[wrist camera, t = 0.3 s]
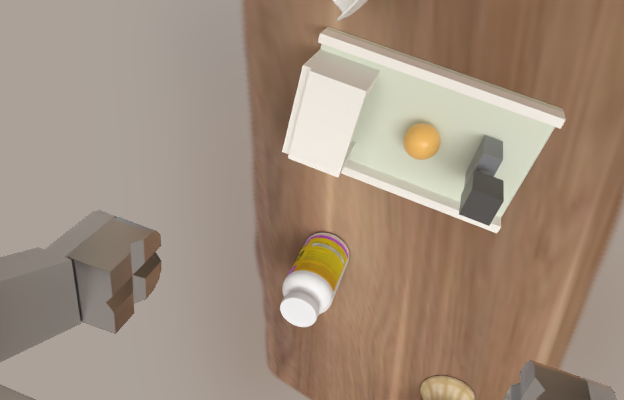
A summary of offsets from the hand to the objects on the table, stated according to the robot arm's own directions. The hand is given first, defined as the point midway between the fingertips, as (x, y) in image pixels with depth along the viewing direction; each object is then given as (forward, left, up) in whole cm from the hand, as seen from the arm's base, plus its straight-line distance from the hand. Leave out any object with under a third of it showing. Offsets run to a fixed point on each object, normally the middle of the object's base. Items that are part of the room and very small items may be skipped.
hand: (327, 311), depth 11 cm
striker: (+16, +9, -45) cm, 49 cm away
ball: (+16, +2, -44) cm, 47 cm away
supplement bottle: (+38, -4, -47) cm, 60 cm away
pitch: (+16, +1, -47) cm, 49 cm away
